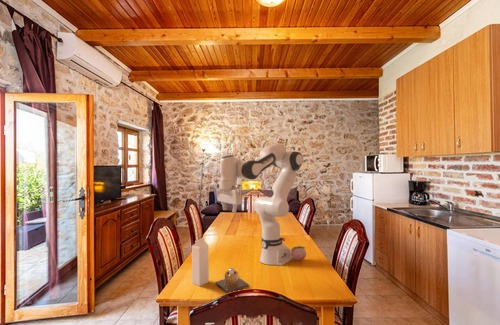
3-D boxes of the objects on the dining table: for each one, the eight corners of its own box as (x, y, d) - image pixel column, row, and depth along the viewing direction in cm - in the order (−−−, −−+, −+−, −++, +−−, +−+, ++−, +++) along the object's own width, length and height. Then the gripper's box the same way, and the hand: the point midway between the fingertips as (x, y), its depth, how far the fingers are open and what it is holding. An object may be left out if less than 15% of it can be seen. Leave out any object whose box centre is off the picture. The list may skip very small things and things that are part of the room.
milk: (208, 282, 129) (208, 238, 129) (199, 286, 124) (199, 241, 124) (201, 278, 133) (200, 236, 133) (191, 283, 128) (191, 239, 128)
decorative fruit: (301, 258, 159) (300, 242, 160) (308, 262, 152) (308, 246, 152) (288, 260, 156) (287, 244, 156) (295, 265, 148) (294, 248, 149)
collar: (233, 279, 130) (233, 269, 130) (240, 283, 125) (240, 273, 125) (223, 282, 126) (222, 272, 126) (229, 287, 121) (229, 276, 121)
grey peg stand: (235, 277, 134) (235, 262, 134) (248, 286, 124) (248, 269, 124) (215, 283, 127) (215, 267, 127) (227, 293, 117) (227, 276, 117)
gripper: (244, 186, 128) (245, 213, 129) (224, 184, 145) (224, 208, 145) (234, 187, 125) (234, 215, 125) (214, 184, 141) (215, 209, 141)
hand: (229, 211), depth 135 cm, fingers open, 8 cm apart
